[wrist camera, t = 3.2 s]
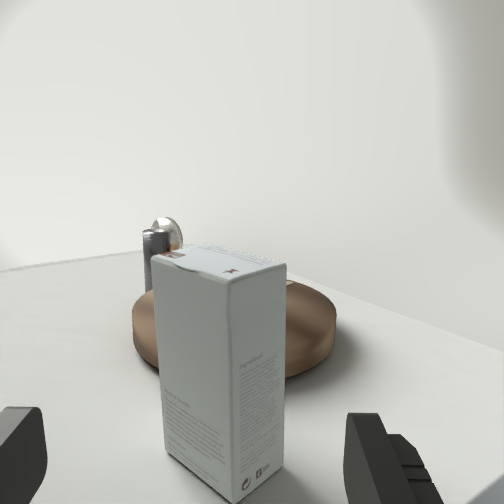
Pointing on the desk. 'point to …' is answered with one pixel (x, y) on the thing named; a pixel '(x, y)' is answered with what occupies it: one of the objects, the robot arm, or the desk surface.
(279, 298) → the skincare box
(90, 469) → the desk surface
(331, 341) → the turntable
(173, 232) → the post with glass disc
